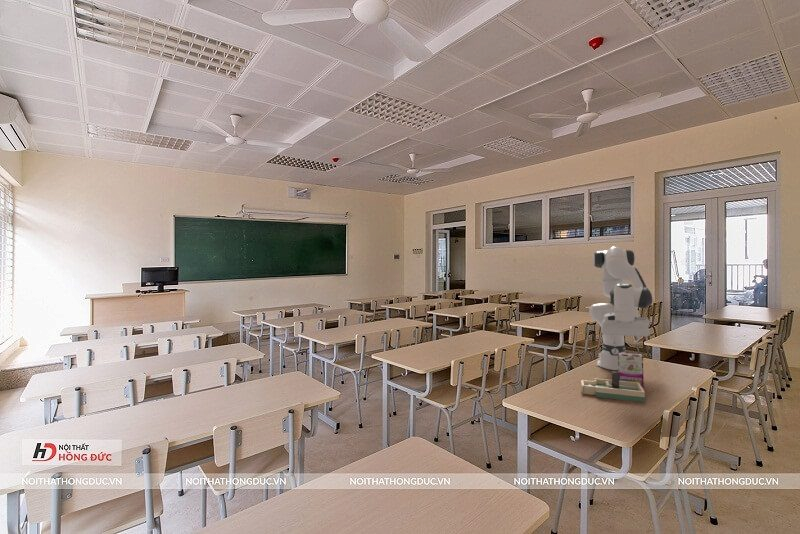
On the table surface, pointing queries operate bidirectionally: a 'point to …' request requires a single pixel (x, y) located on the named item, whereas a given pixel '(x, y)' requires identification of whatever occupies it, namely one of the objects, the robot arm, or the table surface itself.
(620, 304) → the robot arm
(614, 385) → the rod
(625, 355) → the candy bar box
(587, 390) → the pitch
